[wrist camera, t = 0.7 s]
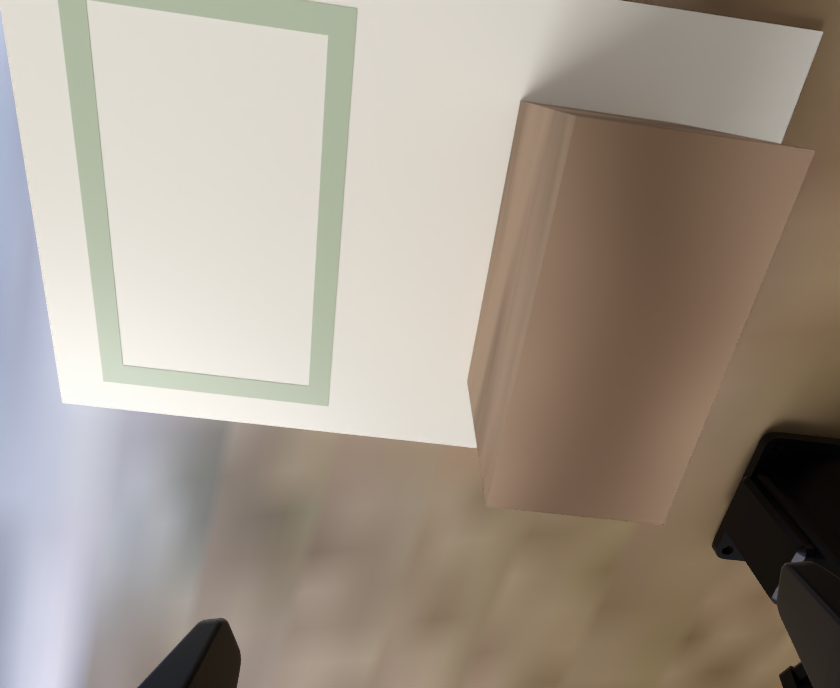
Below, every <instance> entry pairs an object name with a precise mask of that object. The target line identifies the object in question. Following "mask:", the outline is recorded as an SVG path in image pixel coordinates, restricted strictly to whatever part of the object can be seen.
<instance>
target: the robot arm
mask: <svg viewBox="0 0 840 688" xmlns="http://www.w3.org/2000/svg"><path fill="white" fill-rule="evenodd" d="M776 443H777V444H776ZM774 444H776V446H774V447H772V445H774ZM771 447H772V448H771ZM712 547H713V550H714V551H715V553H716V555H717V556H718V557H719V558H722V559H729V560H739V561H745V562H746V563H747V565H748V566H749V568H750V569H751V571H752V572H753V574H754V575H755V577H756V578H757V580H758V581H759V583H760V584H761V586H762V587H763V589H764V590H765V592H766V593H767V595H768V596H769V598H770V599H771V600H772V602H773V603H774V604H777V607H778V611H779V614H780V617H781V619H782V621H783V623H784V625H785V628H786V630H787V632H788V634H789V636H790V638H791V640H792V643H793V645H794V647H795V649H796V651H797V653H798V656H799V658H800V660H801V662H800V663H799V664H797V665H796V666H795V667H793V666H790V667H788V668H787V669H786V670H785V671H783V672H782V673H781V674H780V675H779V677H780V680H781V683H782V686H783V688H840V440H839V439H830V438H822V437H813V436H804V435H795V434H786V433H778V432H773V433H769V434H766V435H765V436H764V437H762V439H761V440H760V441H759V444H758V446H757V448H756V450H755V452H754V454H753V457H752V459H751V461H750V463H749V465H748V467H747V469H746V472H745V474H744V476H743V478H742V480H741V482H740V485H739V487H738V489H737V491H736V493H735V495H734V498H733V500H732V502H731V504H730V506H729V508H728V511H727V513H726V515H725V517H724V519H723V521H722V524H721V526H720V528H719V530H718V532H717V534H716V537H715V539H714V541H713V543H712ZM240 665H241V654H240V650H239V647H238V645H237V642H236V640H235V637H234V635H233V633H232V630H231V628H230V625H229V623H228V621H227V620H225V619H224V618H218V619H207V620H203V621H201V622H199V623H198V624H197V625H196V626H195V627H194V628H193V629H192V630H191V631H190V632H189V633H188V634H187V635H186V636H185V637H184V638H183V639H182V641H181V642H180V643H179V644H178V645H177V646H176V647H175V648H174V649H173V650H172V651H171V652H170V653H169V654H168V655H167V656H166V658H165V659H164V660H163V661H162V662H161V663H160V664H159V665H158V666H157V667H156V668H155V669H154V670H153V671H152V672H151V674H150V675H149V676H148V677H147V678H146V679H145V680H144V681H143V682H142V683H141V684H140V685H139V686H138V687H137V688H237V683H238V677H239V671H240Z"/></svg>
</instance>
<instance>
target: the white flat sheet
mask: <svg viewBox="0 0 840 688" xmlns="http://www.w3.org/2000/svg"><path fill="white" fill-rule="evenodd" d="M0 10H1V17H2V23H3V29H4V36H5V42H6V48H7V55H8V61H9V68H10V74H11V80H12V87H13V93H14V99H15V106H16V112H17V118H18V125H19V131H20V137H21V144H22V150H23V156H24V163H25V169H26V175H27V182H28V188H29V195H30V201H31V207H32V214H33V220H34V226H35V233H36V239H37V245H38V252H39V258H40V264H41V271H42V277H43V283H44V290H45V296H46V302H47V309H48V315H49V322H50V328H51V334H52V341H53V347H54V353H55V360H56V366H57V372H58V379H59V385H60V391H61V398H62V403H68V404H77V405H86V406H96V407H105V408H114V409H123V410H132V411H141V412H151V413H160V414H169V415H178V416H187V417H197V418H206V419H215V420H224V421H233V422H242V423H252V424H261V425H270V426H279V427H288V428H298V429H307V430H316V431H325V432H334V433H344V434H353V435H362V436H371V437H380V438H389V439H399V440H408V441H417V442H426V443H435V444H445V445H454V446H463V447H472V448H477V444H476V437H475V431H474V424H473V418H472V411H471V404H470V398H469V391H468V385H467V379H468V374H469V369H470V363H471V358H472V353H473V347H474V342H475V337H476V332H477V326H478V321H479V316H480V311H481V305H482V300H483V295H484V290H485V284H486V279H487V274H488V268H489V263H490V258H491V253H492V247H493V242H494V237H495V232H496V226H497V221H498V216H499V211H500V205H501V200H502V195H503V189H504V184H505V179H506V174H507V168H508V163H509V158H510V153H511V147H512V142H513V137H514V132H515V126H516V121H517V116H518V110H519V105H520V101H527V102H534V103H541V104H548V105H555V106H562V107H569V108H576V109H583V110H590V111H597V112H604V113H611V114H618V115H625V116H632V117H638V118H645V119H652V120H659V121H666V122H673V123H679V124H684V125H689V126H694V127H699V128H705V129H710V130H715V131H720V132H725V133H730V134H735V135H740V136H745V137H750V138H755V139H760V140H765V141H770V142H775V143H780V144H781V142H782V140H783V137H784V135H785V132H786V129H787V127H788V124H789V121H790V119H791V116H792V114H793V111H794V108H795V106H796V103H797V100H798V98H799V95H800V92H801V90H802V87H803V85H804V82H805V79H806V77H807V74H808V71H809V69H810V66H811V64H812V61H813V58H814V56H815V53H816V50H817V48H818V45H819V42H820V40H821V37H822V35H823V32H821V31H815V30H809V29H802V28H796V27H789V26H783V25H776V24H770V23H764V22H757V21H751V20H744V19H738V18H731V17H725V16H718V15H712V14H706V13H699V12H693V11H686V10H680V9H673V8H667V7H660V6H654V5H648V4H641V3H635V2H628V1H622V0H0Z"/></svg>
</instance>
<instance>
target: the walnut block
mask: <svg viewBox="0 0 840 688" xmlns="http://www.w3.org/2000/svg"><path fill="white" fill-rule="evenodd" d="M815 152H816V150H811V149H806V148H801V147H795V146H790V145H785V144H780V143H775V142H770V141H765V140H760V139H755V138H750V137H745V136H740V135H735V134H730V133H725V132H720V131H715V130H710V129H705V128H699V127H694V126H689V125H684V124H679V123H673V122H666V121H659V120H652V119H645V118H638V117H632V116H625V115H618V114H611V113H604V112H597V111H590V110H583V109H576V108H569V107H562V106H555V105H548V104H541V103H534V102H527V101H520V105H519V110H518V116H517V121H516V126H515V132H514V137H513V142H512V147H511V153H510V158H509V163H508V168H507V174H506V179H505V184H504V189H503V195H502V200H501V205H500V211H499V216H498V221H497V226H496V232H495V237H494V242H493V247H492V253H491V258H490V263H489V268H488V274H487V279H486V284H485V290H484V295H483V300H482V305H481V311H480V316H479V321H478V326H477V332H476V337H475V342H474V347H473V353H472V358H471V363H470V369H469V374H468V379H467V385H468V391H469V398H470V404H471V411H472V418H473V424H474V431H475V437H476V444H477V450H478V457H479V463H480V470H481V477H482V483H483V490H484V496H485V503H486V507H494V508H504V509H514V510H523V511H533V512H543V513H552V514H562V515H572V516H581V517H591V518H601V519H611V520H620V521H630V522H640V523H649V524H659V525H664V523H665V520H666V518H667V515H668V513H669V510H670V508H671V505H672V503H673V501H674V498H675V496H676V493H677V491H678V488H679V486H680V483H681V481H682V478H683V476H684V474H685V471H686V469H687V466H688V464H689V461H690V459H691V456H692V454H693V451H694V449H695V446H696V444H697V442H698V439H699V437H700V434H701V432H702V429H703V427H704V424H705V422H706V419H707V417H708V415H709V412H710V410H711V407H712V405H713V402H714V400H715V397H716V395H717V392H718V390H719V387H720V385H721V383H722V380H723V378H724V375H725V373H726V370H727V368H728V365H729V363H730V360H731V358H732V356H733V353H734V351H735V348H736V346H737V343H738V341H739V338H740V336H741V333H742V331H743V328H744V326H745V324H746V321H747V319H748V316H749V314H750V311H751V309H752V306H753V304H754V301H755V299H756V297H757V294H758V292H759V289H760V287H761V284H762V282H763V279H764V277H765V274H766V272H767V270H768V267H769V265H770V262H771V260H772V257H773V255H774V252H775V250H776V247H777V245H778V242H779V240H780V238H781V235H782V233H783V230H784V228H785V225H786V223H787V220H788V218H789V215H790V213H791V211H792V208H793V206H794V203H795V201H796V198H797V196H798V193H799V191H800V188H801V186H802V183H803V181H804V179H805V176H806V174H807V171H808V169H809V166H810V164H811V161H812V159H813V156H814V154H815Z"/></svg>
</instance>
